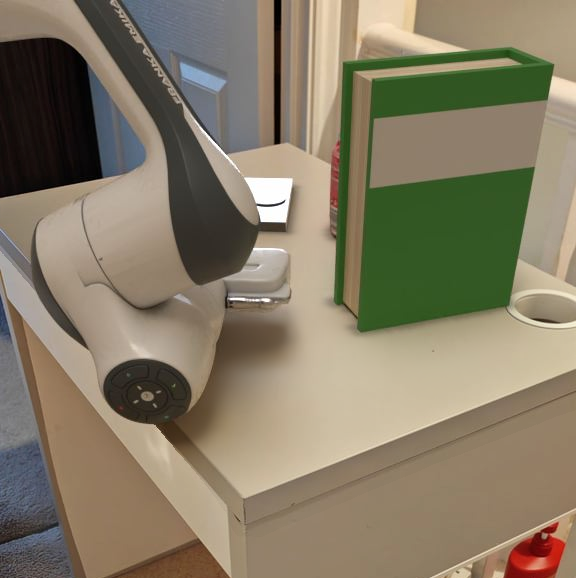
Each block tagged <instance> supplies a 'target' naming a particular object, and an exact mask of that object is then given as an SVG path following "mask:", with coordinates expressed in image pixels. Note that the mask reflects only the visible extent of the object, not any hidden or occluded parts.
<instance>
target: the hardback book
mask: <svg viewBox="0 0 576 578" xmlns="http://www.w3.org/2000/svg"><path fill="white" fill-rule="evenodd" d="M554 69H555V63H553V62H550V61H548V60H545V59H543V58H540V57H538V56H535V55H532V54H531V53H528V52H525V51H522V50H520V49H518V48H515V47H512V46H506V47H493V48H484V49H472V50H460V51H450V52H437V53H426V54H416V55H403V56H392V57H381V58H380V57H379V58H370V59H358V60H347V61H346V60H345V61H342V76H341V78H342V79H341V100H340V101H341V104H340V127H339V129H340V130H339V133H340V152H339V179H338V205H337V231H336V236H335V256H334V257H335V258H334V259H335V261H334V285H333V303H334V304H335V305H336V306H341V305H346V306H347V307H348V309H349V310H350V311H351V312H352V313H353V314H354V315H355V316H356V317H357V320H356V321H357V323H356V329H357V330H358V332H359V333H365V332H371V331H376V330H382V329H387V328H393V327H394V328H395V327H399V326H400V327H401V326H404V325H411V324H415V323H421V322H422V323H423V322H428V321H432V320H439V319H443V318H450V317H454V316H460V315H461V316H462V315H466V314H472V313H477V312H483V311H484V312H485V311H488V310H493V309H500V308H506V307H510V302H511V298H512V297H511V296H512V292H513V288H514V281H515V277H516V271H517V265H518V260H519V255H520V250H521V244H522V239H523V234H524V229H525V224H526V217H527V212H528V207H529V201H530V198H531V197H530V196H531V191H532V186H533V181H534V176H535V170H536V166H537V160H538V154H539V149H540V145H541V144H540V143H541V138H542V133H543V127H544V122H545V117H546V113H547V112H546V111H547V106H548V101H549V96H550V91H551V85H552V80H553V74H554Z"/></svg>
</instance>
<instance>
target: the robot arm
mask: <svg viewBox="0 0 576 578" xmlns="http://www.w3.org/2000/svg"><path fill="white" fill-rule="evenodd" d="M41 38H42V39H43V38H46V39H47V38H49V39H50V38H51V39H57V40H61V41H63V42H64V43H66V44H68V45H70V46H71V47H72V48H73V49H75V50H76V51H77V52H78V53H79V54H80V55H81V57H83V59H84V60H85V61H86V63H87V65H88V66H89V67H90V69H91V70H92V72H93V73H94V74H95V77H97V79H98V80H99V82H100V84H101V85H102V87H103V88H104V89H105V91H106V92H107V94H108V95H109V97H110V98H111V100H112V101H113V103H114V104H115V106H116V107H117V108H118V110H119V111H120V113H121V114H122V116H123V117H124V119H125V121H126V122H127V123H128V125H129V126H130V128H131V129H132V131H133V132H134V134H135V135H136V137H137V138H138V139H139V141H140V143H141V144H142V145H143V148H144V150H145V160H144V161H143V163H142V164H140V165H139V166H138V167H136V168H134V169H132V170H130V171H128V172H126V173H124V174H123V175H120V176H119V177H116V179H114V180H111V181H110V182H108V183H106V184H104V185H103V186H101V187H99V188H97V189H96V190H93V191H91V192H87V193H85V194H83V195H81V196H79V197H78V198H76V199H75V200H72V201H70V202H69V203H67V204H65V205H64V206H61V207H60V208H58V209H56V210H54V211H53V212H51V213H49V214H47V216H44V217H42V218H40V219H39V220H38V221H37V223H36V225H35V228H34V230H33V234H32V238H31V242H30V269H31V278H32V284H33V287H34V289H35V290H34V291H35V293H36V295H37V297H38V299H39V301H40V302H41V304H42V305H43V307H44V309H45V310H46V311H47V313H48V314H49V315H50V318H51V319H52V320H53V321H54V322H55V323H56V324H57V326H58V327H59V328H60V329H61V330H62V331H64V332H65V334H67V335H68V336H69V337H70V338H71V339H73V341H75V342H77V343H78V344H79V345H80V346H82V347H83V348H84V349H86V350H87V351H89V352H90V355H91V357H92V360H93V363H94V367H95V372H96V377H97V378H96V379H97V383H98V388H99V391H100V394H101V396H102V399H104V401H105V403H106V404H107V405H108V406H109V408H110V409H111V410H112V411H113V412H114V413H116V414H117V415H118V416H120V417H122V418H124V419H125V420H128V421H130V422H134V423H138V424H142V425H143V424H144V425H160V424H165V423H169V422H172V421H175V420H177V419H179V418H181V417H183V416H185V415H186V414H187V413H189V412H190V410H191V409H193V407H194V406H195V405H196V404H197V402H198V401H199V399H200V398H201V396H202V395H203V392H204V390H205V389H206V386H207V384H208V381H209V379H210V375H211V373H212V368H213V365H214V362H215V356H216V350H217V342H218V340H219V339H220V335H221V331H222V328H223V325H224V324H223V323H224V321H225V316H226V312H230V313H231V312H232V313H234V312H235V313H269V312H273V311H276V310H278V309H279V308H280V307H281V306H282V305H288V304H289V303H290V301H291V299H292V293H293V292H292V288H291V283H292V255H291V254H290V253H289V252H288V251H286V250H285V249H283V248H265V247H264V248H263V247H262V248H261V247H260V248H259V247H255V246H256V243H257V240H258V237H259V234H260V231H259V230H260V226H261V218H260V214H259V211H258V208H257V204H256V201H255V198H254V195H253V193H252V191H251V189H250V187H249V185H248V183H247V182H246V180H245V178H246V177H245V176H244V175H243V174H242V172H241V171H240V169H239V168H238V167H237V165H236V164H235V163H234V162H233V161H232V159H231V158H230V157H229V156H228V155H227V153H226V152H225V150H224V149H223V148H222V147H221V146H220V144H219V142H217V140H216V139H215V137H214V136H213V135H212V134H211V132H210V131H209V130H208V128H207V127H206V126H205V124H204V123H203V121H202V119H201V118H200V117H199V115H198V114H197V113H196V111H195V110H194V108H193V107H192V105H191V103H190V102H189V100H188V98H187V97H186V96H185V94H184V93H183V92H182V91H183V90H181V88H180V86H179V85H178V83H177V82H176V81H175V79H174V77H173V76H172V74H171V73H170V71H169V69H168V68H167V66H166V65H165V64H164V62H163V60H162V59H161V58H160V56H159V55H158V53H157V51H156V50H155V48H154V47H153V46H152V44H151V42H150V40H149V39H148V37H147V36H146V35H145V33H144V32H143V29H142V28H141V27H140V26H139V24H138V23H137V21H136V20H135V18H134V17H133V15H132V14H131V12H130V11H129V9H128V8H127V6H126V5H125V3H124V2H123V0H0V43H4V42H5V43H6V42H13V41H22V40H30V39H41Z"/></svg>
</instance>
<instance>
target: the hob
mask: <svg viewBox="0 0 576 578" xmlns="http://www.w3.org/2000/svg"><path fill="white" fill-rule="evenodd" d="M244 178H245V180H246V182H247V183H248V185H249V187H250V189H251V191H252V193H253V195H254V198H255V201H256V204H257V208H258V211H259V214H260V218H261V226H260V230H259V232H267V233H270V232H272V233H273V232H274V233H287V228H288V223H289V216H290V209H291V201H292V195H293V189H294V179H293V178H272V177H271V178H269V177H267V178H266V177H244Z"/></svg>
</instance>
